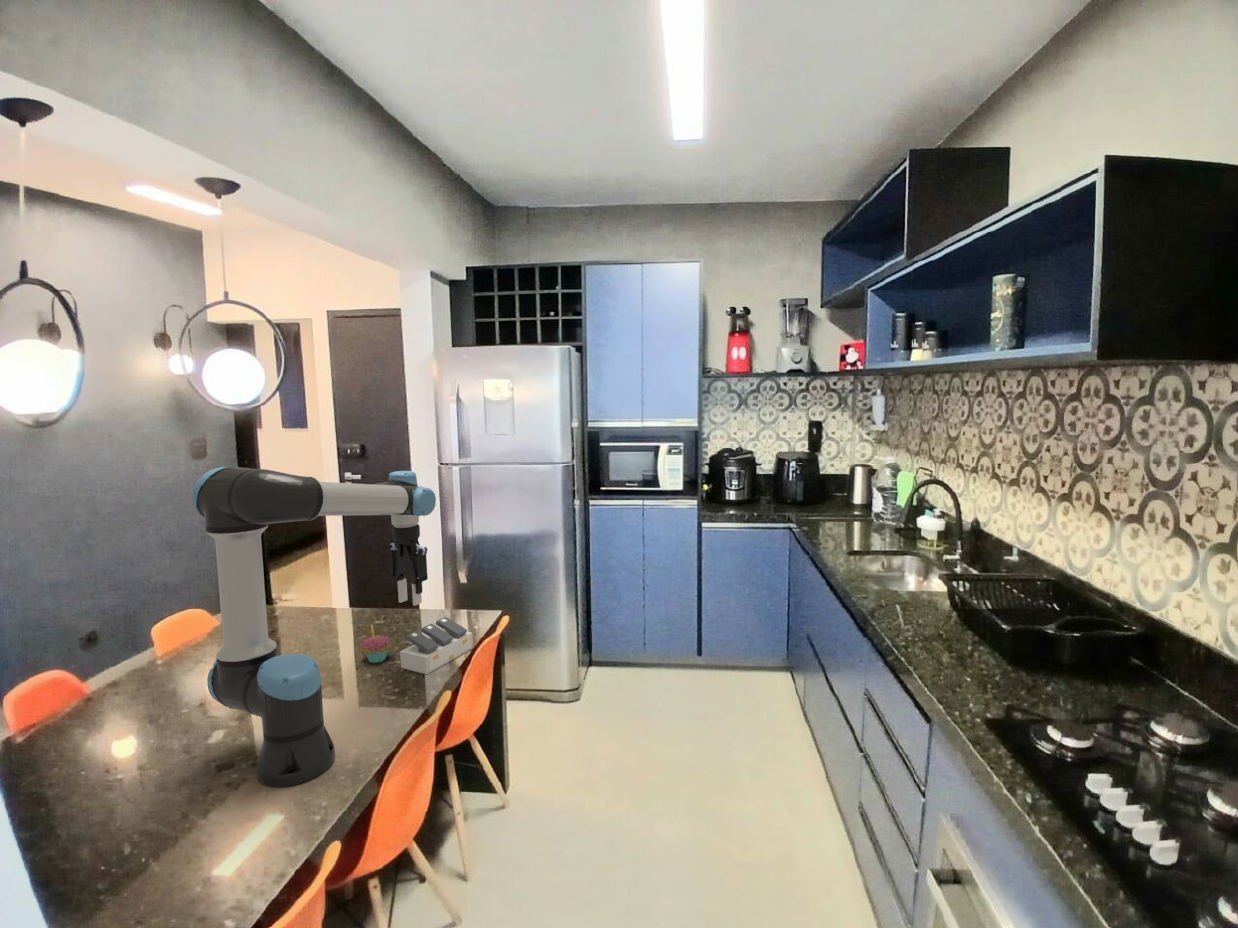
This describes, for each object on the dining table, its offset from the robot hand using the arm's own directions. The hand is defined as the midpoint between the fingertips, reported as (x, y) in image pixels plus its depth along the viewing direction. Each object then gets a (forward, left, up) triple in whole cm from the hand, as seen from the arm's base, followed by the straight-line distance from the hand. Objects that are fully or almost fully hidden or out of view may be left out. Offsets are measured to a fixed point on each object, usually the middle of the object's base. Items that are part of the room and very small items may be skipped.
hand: (410, 602), depth 184 cm
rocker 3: (+12, -4, -11) cm, 17 cm away
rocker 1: (0, -4, -11) cm, 12 cm away
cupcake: (-3, +12, -19) cm, 23 cm away
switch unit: (+6, -4, -19) cm, 20 cm away
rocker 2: (+6, -4, -11) cm, 13 cm away
